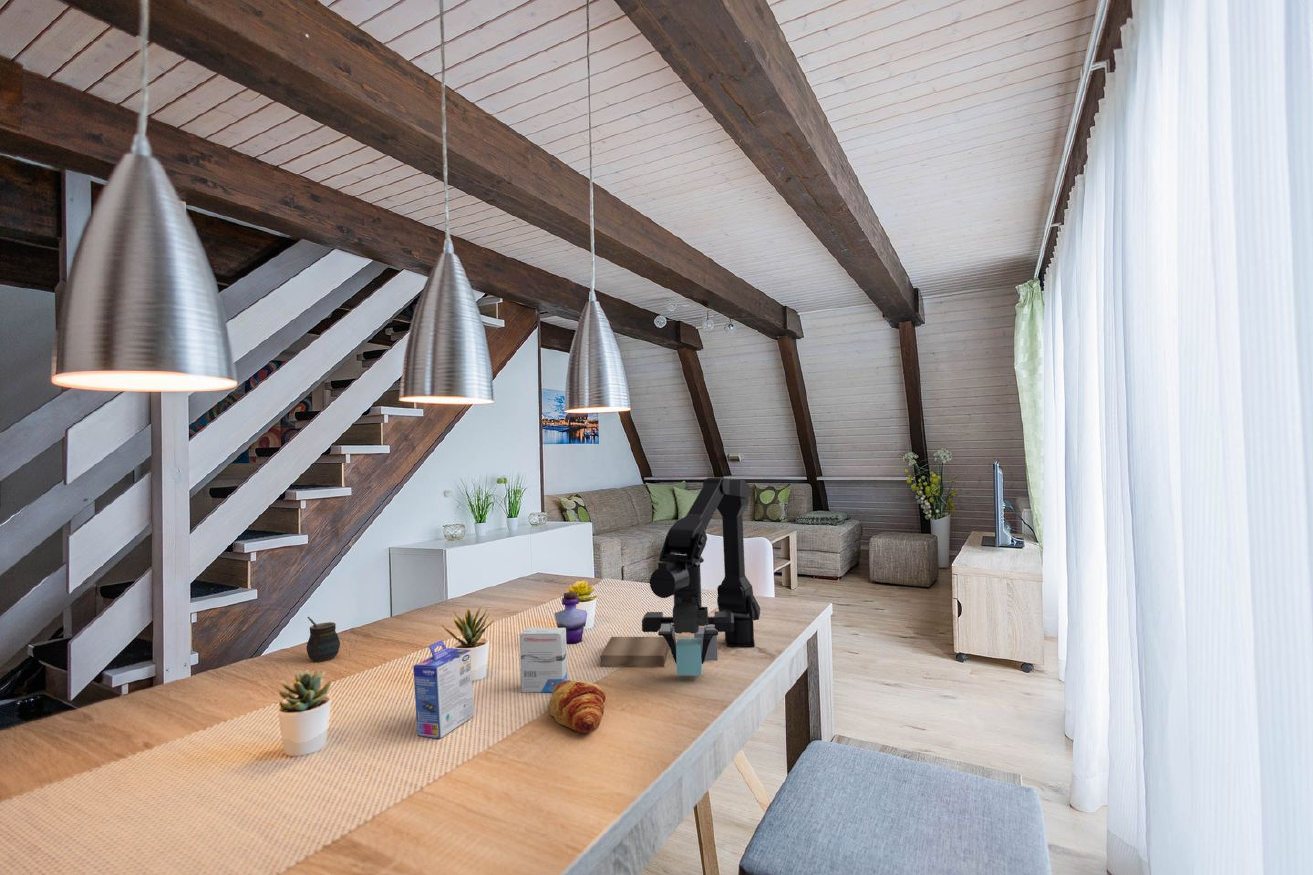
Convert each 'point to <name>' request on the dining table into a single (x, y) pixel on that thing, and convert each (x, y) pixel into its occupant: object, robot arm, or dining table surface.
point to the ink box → (543, 659)
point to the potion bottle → (571, 618)
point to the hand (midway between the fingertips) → (689, 663)
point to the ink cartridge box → (443, 691)
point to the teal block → (689, 656)
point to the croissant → (577, 705)
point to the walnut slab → (635, 652)
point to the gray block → (712, 648)
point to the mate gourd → (322, 641)
